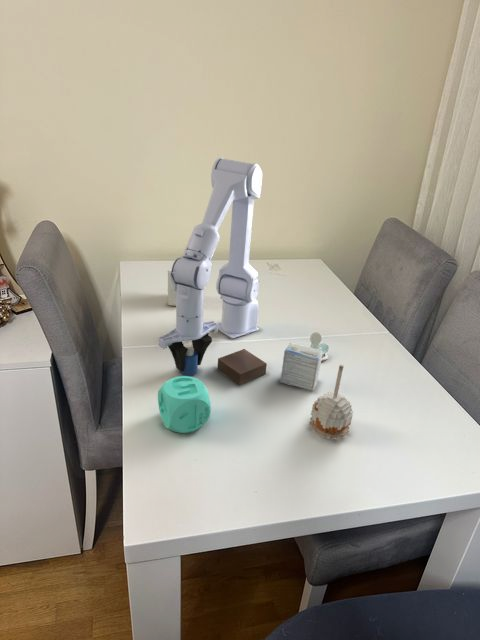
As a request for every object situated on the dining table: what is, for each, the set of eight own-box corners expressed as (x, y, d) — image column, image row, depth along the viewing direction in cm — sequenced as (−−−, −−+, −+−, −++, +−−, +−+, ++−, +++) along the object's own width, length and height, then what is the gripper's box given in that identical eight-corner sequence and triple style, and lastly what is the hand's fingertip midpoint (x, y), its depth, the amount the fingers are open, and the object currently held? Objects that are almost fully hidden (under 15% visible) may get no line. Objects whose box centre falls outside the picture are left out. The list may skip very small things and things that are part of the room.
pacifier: (332, 362, 122) (323, 349, 127) (337, 340, 118) (327, 328, 123) (305, 364, 120) (296, 351, 124) (309, 342, 116) (300, 329, 121)
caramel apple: (322, 411, 103) (334, 350, 96) (354, 428, 99) (369, 366, 92) (301, 428, 98) (312, 364, 90) (334, 446, 94) (348, 382, 86)
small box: (186, 308, 140) (186, 273, 134) (167, 305, 140) (167, 270, 135) (194, 297, 147) (195, 264, 141) (177, 294, 147) (177, 261, 142)
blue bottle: (190, 364, 114) (191, 342, 111) (200, 372, 112) (201, 350, 109) (176, 370, 112) (176, 347, 109) (186, 378, 109) (186, 355, 106)
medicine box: (317, 382, 113) (323, 350, 109) (313, 392, 109) (319, 359, 105) (285, 373, 115) (289, 341, 110) (279, 383, 111) (284, 350, 107)
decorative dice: (170, 437, 92) (170, 403, 88) (157, 413, 98) (157, 379, 94) (210, 427, 95) (211, 394, 91) (195, 404, 101) (196, 372, 97)
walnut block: (243, 359, 119) (244, 348, 117) (265, 374, 114) (266, 363, 112) (217, 369, 114) (217, 358, 112) (239, 385, 109) (240, 374, 107)
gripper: (205, 298, 111) (203, 349, 118) (150, 313, 102) (151, 367, 109) (225, 310, 107) (221, 362, 114) (168, 326, 98) (168, 382, 105)
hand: (188, 366), depth 111 cm, fingers open, 4 cm apart
